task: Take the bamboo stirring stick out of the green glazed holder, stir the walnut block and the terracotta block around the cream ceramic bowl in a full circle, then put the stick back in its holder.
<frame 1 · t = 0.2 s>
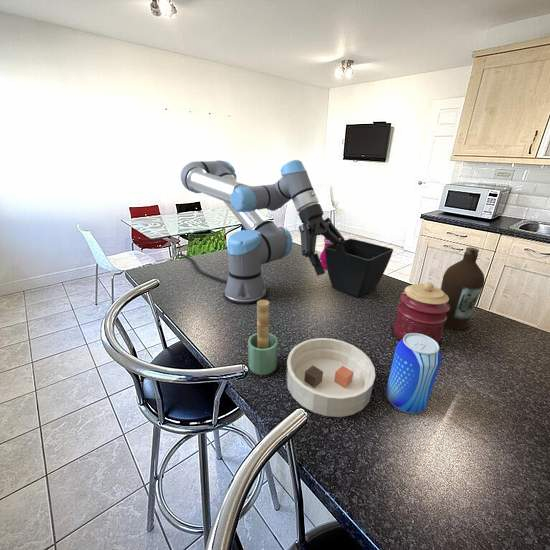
hand: (334, 269, 93), 16 cm above the kitchen island, tool tilted 35°, fingers open, 13 cm apart
holder: (262, 366, 74), on the kitchen island
stir stick: (262, 364, 74), point 1 cm above the kitchen island, touching holder
bowl: (327, 384, 69), on the kitchen island
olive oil: (449, 322, 95), on the kitchen island
walnut block: (313, 381, 69), point 1 cm above the kitchen island, touching bowl
kitchen canister: (415, 336, 87), on the kitchen island
beer can: (404, 402, 65), on the kitchen island
flower pot: (353, 288, 116), on the kitchen island
pepper mill: (326, 267, 136), on the kitchen island
terracotta block: (343, 381, 69), point 1 cm above the kitchen island, touching bowl
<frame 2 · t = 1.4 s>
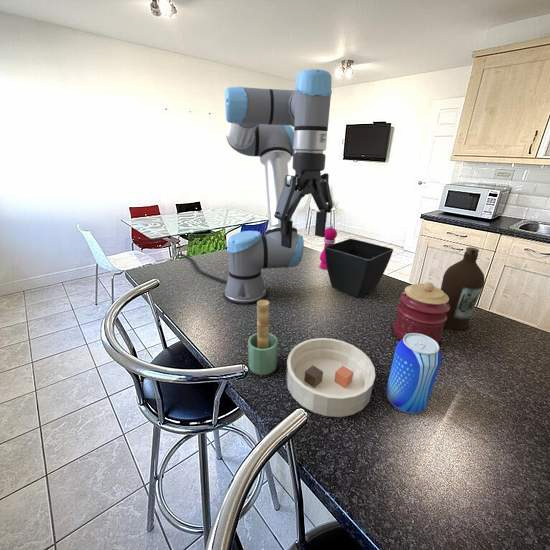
hand: (303, 241, 75), 29 cm above the kitchen island, tool pointing down, fingers open, 13 cm apart
nothing on the kitchen island moved.
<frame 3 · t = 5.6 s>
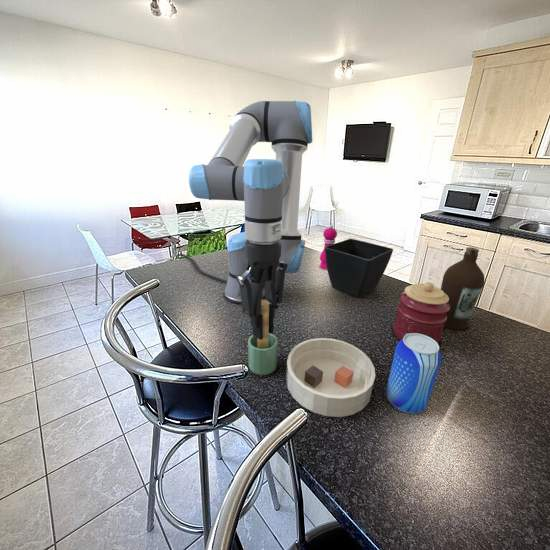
hand: (262, 333, 70), 10 cm above the kitchen island, tool pointing down, fingers closed on stir stick, 3 cm apart
stir stick: (262, 364, 74), point 1 cm above the kitchen island, touching gripper
everything else where it was.
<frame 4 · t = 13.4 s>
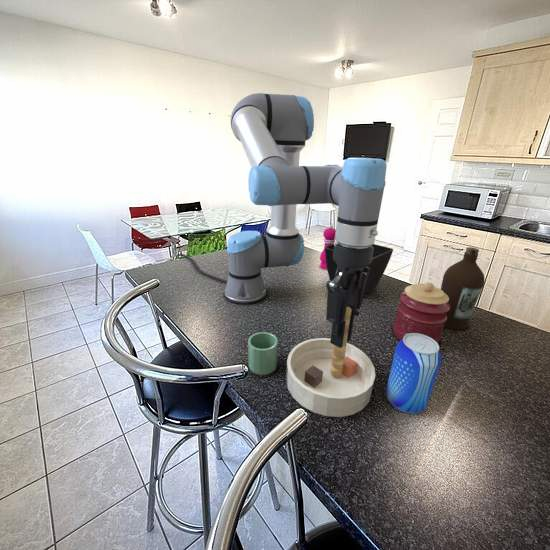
hand: (340, 341, 67), 11 cm above the kitchen island, tool pointing down, fingers closed on stir stick, 3 cm apart
stir stick: (336, 373, 70), point 1 cm above the kitchen island, touching gripper
terracotta block: (347, 371, 72), point 1 cm above the kitchen island, touching bowl
everything else where it was.
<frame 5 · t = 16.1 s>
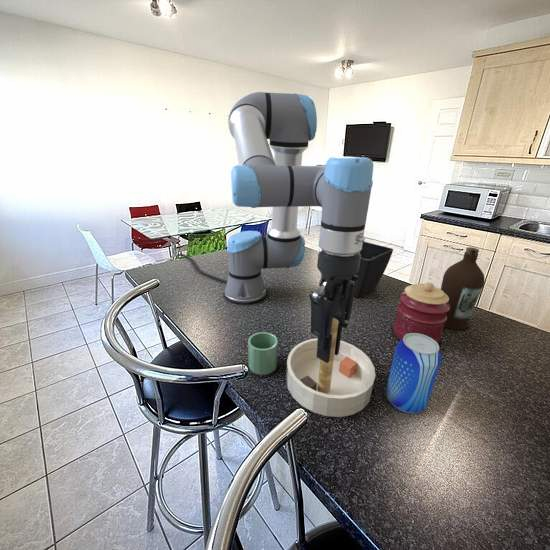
hand: (327, 355, 62), 11 cm above the kitchen island, tool pointing down, fingers closed on stir stick, 3 cm apart
stir stick: (323, 389, 65), point 2 cm above the kitchen island, touching gripper
walnut block: (306, 392, 65), point 1 cm above the kitchen island, touching bowl
everything else where it was.
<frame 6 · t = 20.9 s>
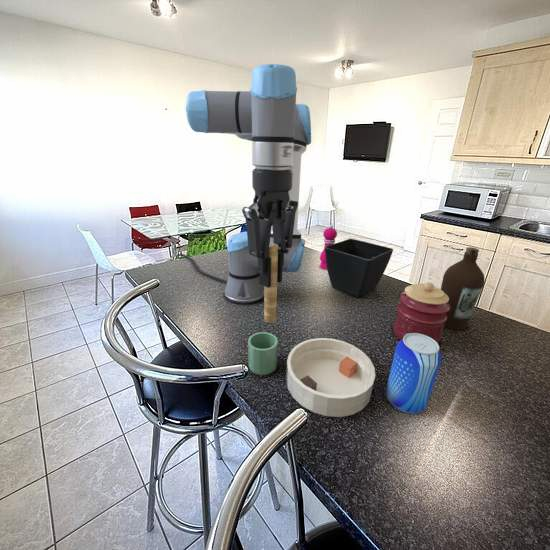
hand: (270, 282, 63), 24 cm above the kitchen island, tool pointing down, fingers closed on stir stick, 3 cm apart
stir stick: (270, 319, 67), point 15 cm above the kitchen island, touching gripper
everything else where it was.
when the fingers open (10 cm above the kitchen island, at t = 25.0 s): stir stick stays where it is, resting on holder.
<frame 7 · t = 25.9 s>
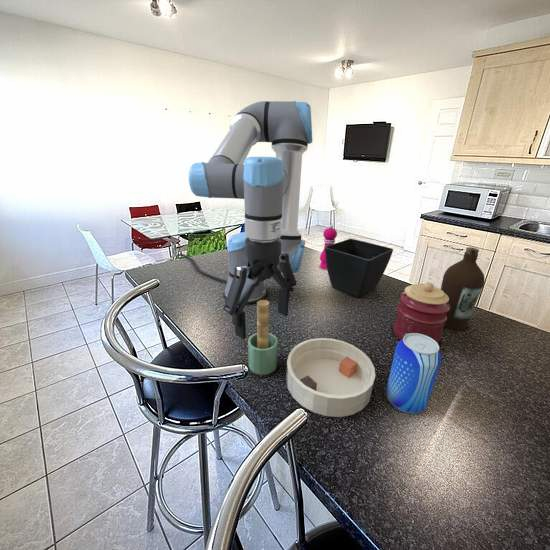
hand: (263, 324, 69), 13 cm above the kitchen island, tool pointing down, fingers open, 13 cm apart
stir stick: (262, 365, 74), point 1 cm above the kitchen island, touching holder
everything else where it was.
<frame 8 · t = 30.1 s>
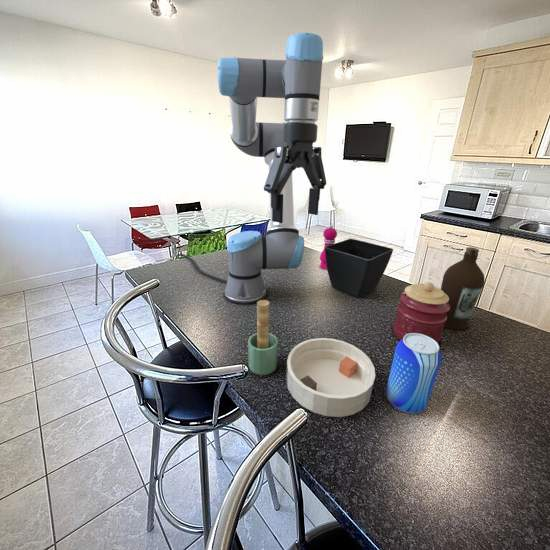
hand: (296, 218, 73), 35 cm above the kitchen island, tool pointing down, fingers open, 13 cm apart
nothing on the kitchen island moved.
at the end: walnut block moved 3.8 cm from its start; terracotta block moved 3.7 cm from its start; walnut block inside the target area in the bowl (6.4 cm from its centre), point 0.8 cm above the bowl's base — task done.
